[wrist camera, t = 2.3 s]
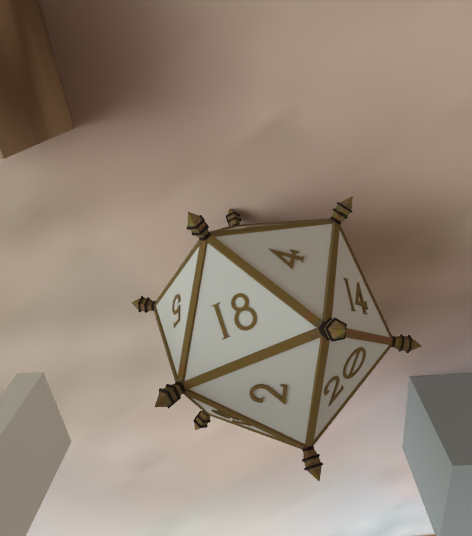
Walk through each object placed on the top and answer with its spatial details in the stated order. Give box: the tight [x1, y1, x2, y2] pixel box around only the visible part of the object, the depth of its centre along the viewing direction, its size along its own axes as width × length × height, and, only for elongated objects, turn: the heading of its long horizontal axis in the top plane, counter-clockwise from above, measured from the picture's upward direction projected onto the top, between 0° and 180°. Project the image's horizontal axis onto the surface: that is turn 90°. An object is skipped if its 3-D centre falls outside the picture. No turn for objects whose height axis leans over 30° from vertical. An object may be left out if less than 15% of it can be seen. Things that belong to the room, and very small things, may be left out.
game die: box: [132, 197, 422, 481], centre depth 14 cm, size 9×8×10 cm
